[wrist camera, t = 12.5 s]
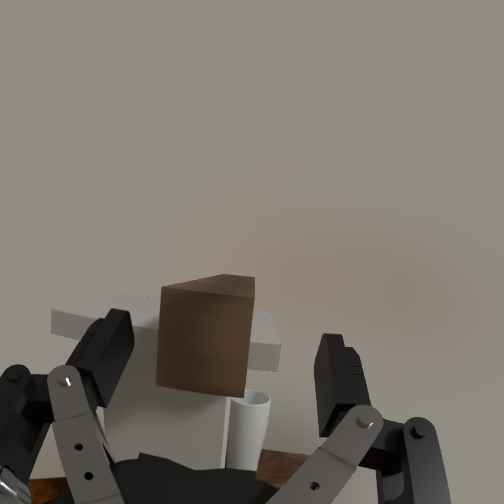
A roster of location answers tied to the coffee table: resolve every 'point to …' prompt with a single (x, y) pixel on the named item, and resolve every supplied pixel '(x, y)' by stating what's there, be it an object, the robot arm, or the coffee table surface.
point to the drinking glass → (247, 429)
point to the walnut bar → (206, 335)
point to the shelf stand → (163, 388)
